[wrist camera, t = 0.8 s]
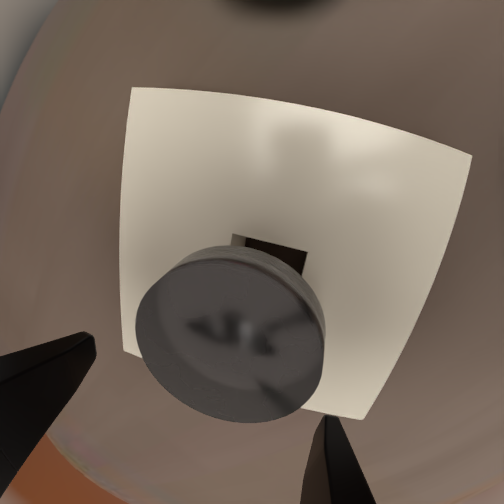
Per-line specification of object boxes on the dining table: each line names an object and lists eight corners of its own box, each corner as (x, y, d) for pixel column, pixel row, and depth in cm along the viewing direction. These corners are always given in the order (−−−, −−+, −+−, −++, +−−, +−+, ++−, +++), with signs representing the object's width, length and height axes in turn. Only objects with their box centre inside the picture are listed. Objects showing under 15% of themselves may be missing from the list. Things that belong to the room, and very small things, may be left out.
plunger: (345, 237, 15) (351, 300, 9) (308, 354, 17) (293, 439, 12) (201, 203, 16) (134, 243, 10) (189, 321, 18) (139, 389, 13)
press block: (446, 150, 16) (472, 155, 13) (361, 383, 23) (362, 420, 19) (165, 92, 19) (132, 87, 15) (148, 323, 26) (123, 350, 22)
